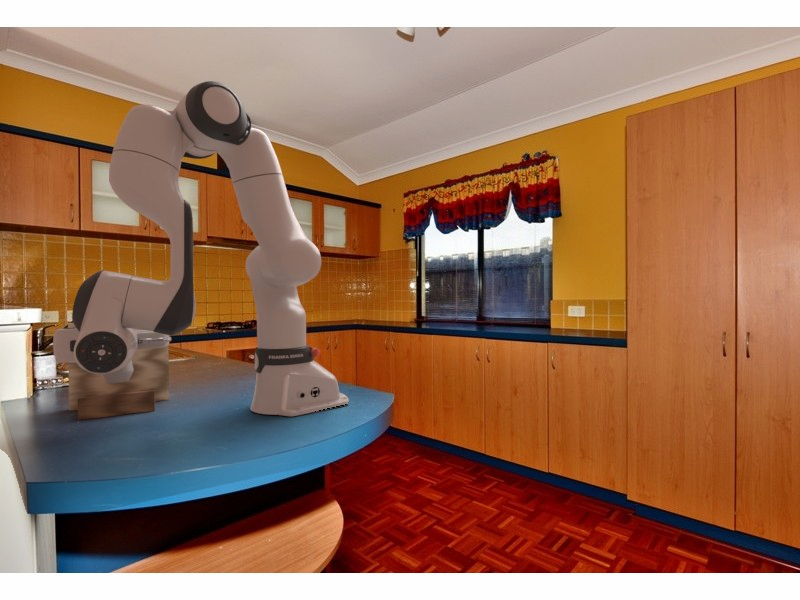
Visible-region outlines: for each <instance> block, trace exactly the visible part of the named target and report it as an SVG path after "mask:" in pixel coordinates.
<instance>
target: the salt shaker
mask: <svg viewBox="0 0 800 600" xmlns="http://www.w3.org/2000/svg"><path fill="white" fill-rule="evenodd" d="M133 370H134V369H133V365H132V360H131V361H130V362H129V363H128V364H127V365H126V366H125V367H124V368H122V369H120V370H119V371H116V372H113V373H109V374H103V376H104V377H105V379H106V381H107V383H120V382H126V381H129V379H130V377H131V375H132V373H133Z"/></svg>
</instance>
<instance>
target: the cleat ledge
mask: <svg viewBox="0 0 800 600" xmlns="http://www.w3.org/2000/svg"><path fill="white" fill-rule="evenodd" d="M155 410H156V401H155V389H151V390H141V391H131V392H121V393H111V394H102V395H92V396H85V397H82V398H78V410H77V420H78V421H82V420H81V419H83V420H90V418H91V419H97V418H105V417H107V418H108V417H115V416H120V415H121V416H122V415H123V416H124V415H130V414H131V415H132V414H138V413H146V412H147V413H148V412H154V411H155Z"/></svg>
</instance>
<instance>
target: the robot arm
mask: <svg viewBox="0 0 800 600" xmlns="http://www.w3.org/2000/svg"><path fill="white" fill-rule="evenodd" d="M248 124H249V125H248ZM215 153H217V155H219V156H220V157H221V159H222V160H223V161H224V163H225V165H226V167H227V168H228V170H229V175H230V179H231V183H232V187H233V189H234V194H235V196H236V201H237V203H238V208H239V209H240V210H239V211H240V214H241V218H242V220H243V221H244V223H245V224H246V225H247V226H248V227H249V229H250V230H251V232H252V234H253V236H254V237H255V240H256V241H257V243H258V245H257V246H256V247H255V248H254V249H253V250H251V252H250V253H249V254H248V256H247V257H246V259H245V271H246V275H247V276H248V277H249V280H250V286H251V291H252V295H253V300H254V306H255V313H256V339H257V341H256V342H257V343H256V344H257V345H256V347H255V351H254V352H255V353H254V369H255V372H256V376H255V377H256V378H255V384H254V385H255V386H254V390H253V391H254V392H253V396H252V402H251V404H250V407H249V408H250V411H251V412H253V413H256V414H262V415H275V416H277V415H278V416H283V417H284V416H285V417H295V416H302V415H305V414H312V413H316V412H320V411H319V410H321V411H324V410H323V409H325V410H328V409H327V408H330V409H332V408H331V407H335V408H337V407H336V406H340V405H344V406H346V405H345V404H348V405H349V403H348V402H350V400H349V398H348V396H347V395H345V394H344V393H343V392H340V388H339V384H338V383H339V382H338V379H337V378H336V376H335V375H334V374H333V373H332V372H330V371H329V370H327V369H326V368H325V367H323V365H321V364H319V363H318V362H317V361H315V360H314V359H315V358H318V357H320V355H321V353H322V351H321V349H320V348H319V347H318V348H317V347H311V346H309V345H307V314H306V311H305V309H304V307H303V305H302V303H301V300H300V297H299V293H298V288H297V287H299V286H302V285H305V284H306V283H309V282H310V281H311V280H313V279H315V278H316V277H317V276H318V274H319V272H320V271H321V268H322V257H321V256H322V255H321V253H320V250H319V248H318V247H317V245H315V243H314V242H312V241H311V240H310V239H309V238H308V237H307V235H306V233H305V231H304V229H303V228H302V226H301V225H300V223H299V221H298V219H297V217H296V215H295V213H294V210H293V207H292V204H291V201H290V197H289V193H288V190H287V186H286V183H285V179H284V175H283V172H282V168H281V165H280V162H279V159H278V157H277V154H276V151H275V149H274V147H273V144H272V142H271V140H270V139H269V137H268V135H267V134H266V133H265V132H264V131H263V130H261V129H259V128H256V127H252V120H251V117H250V116H249V114H248V113H247V112H246V110H245V107H244V104H243V102H241V100H240V98H239V96H238V95H237V94H236V93H235V92H234V90H232V89H231V88H230V87H229V86H228V85H226V84H224V83H223V82H220V81H217V80H216V81H214V80H207V81H204V82H200V83H197V84H196V85H194V86H192V87H191V88H190V89H189V90H188V92H187V93H186V94H185V95H184V96H182V98H181V99H180V101H178V103H177V105H176V107H174V109H173V110H168V109H167V110H165V109H163V108H162V107H159V106H156V105H151V104H138V105H136V106H133V107H131V108H130V109H129V110H128V112H127V114H126V115H125V118H124V119H123V121H122V124H121V126H120V128H119V131H118V133H117V135H116V138H115V142H114V145H113V149H112V152H111V157H110V163H109V169H108V172H109V173H108V182H109V185H110V187H111V189H112V191H113V192H114V194H115V195H116V197H118V199H120V200H121V202H123V204H125V205H126V206H128V207H129V209H132V210H133V211H134V212H136V213H138V214H139V215H142V216H143V217H144V218H146V219H148V220H150V221H151V222H153V223H154V224H156V225H157V226H158V227H160V228H161V229H162V230H163V231H164V232H165V233H166V234H167V236H168V238H169V242H170V276H169V279H167V280H159V279H153V278H148V277H147V278H146V277H142V276H137V275H132V274H129V273H122V272H115V271H109V270H104V269H102V270H99V271H97V272H95V273H93V274H91V275H90V276H89V277H88V278H86V279H85V280H83V281H82V283H81V284H80V286H79V288H78V289H77V290H78V291H77V292H76V295H75V298H74V301H73V306H72V312H71V313H72V314H71V320H72V323H74V325H75V327H74V328H68V327H65V328H58V329H56V331H55V332H54V333H53V334H52V335H53V340H52V341H53V343H52V345H53V347H52V348H53V356H54V357H55V361H56V363H58V364H69V363H77V364H78V365H79V366H80V367H81V368H82V369H84V370H85V371H88V372H90V373H93V374H109V373H113V372H116V371H119V370H120V369H122V368H124V367H125V366H126V365H127V364H128V363H129V362H130V361H131V359H132V358H133V356H134V354H135V352H136V350H138V349H154V348H162V347H166V346H168V345H169V346H170V342H172V339H173V338H172V337H171V336H175V335H177V334H180V333H181V332H184V331H186V330H187V329H188V328H190V327H191V326H192V324H193V322H194V319H195V317H196V313H197V303H196V302H197V300H196V295H195V290H194V289H195V288H194V221H193V211H192V207H191V205H190V203H189V202H188V201H186V199H184V197H183V195H182V194H181V190H180V187H179V185H180V184H179V176H180V171H181V167H182V166H181V165H182V161H183V158H188V159H192V160H202V159H203V160H204V159H207V158H210V157H212V156H213V155H214V154H215ZM134 329H140V330H134ZM340 407H341V406H340ZM315 411H316V412H315Z"/></svg>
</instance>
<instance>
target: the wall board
mask: <svg viewBox="0 0 800 600" xmlns="http://www.w3.org/2000/svg"><path fill="white" fill-rule="evenodd" d="M74 327H75V325H74V323H73V322H69V323H67V328H74ZM134 330H140V329H134ZM169 346H170V344H169V345H168V346H166V347H162V348H154V349H138V350H136V352H135V354H134V356H133V358H132V359H131V360H132V365H133V369H134V370H133V373H132V375H131V377H130V379H129V381H126V382H120V383H107V381H106V379H105V377H104V376H103V374H93V373H90V372H88V371H85V370H84V369H82V368H81V367H80V366H79V365H78V364H77V363H68V410H69V412H70V411H78V398H82V397H85V396H92V395H102V394H111V393H121V392H131V391H141V390H151V389H155V402H159V401H168V400H170V364H169V361H170V359H169V358H170V357H169V354H170V353H169Z"/></svg>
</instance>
